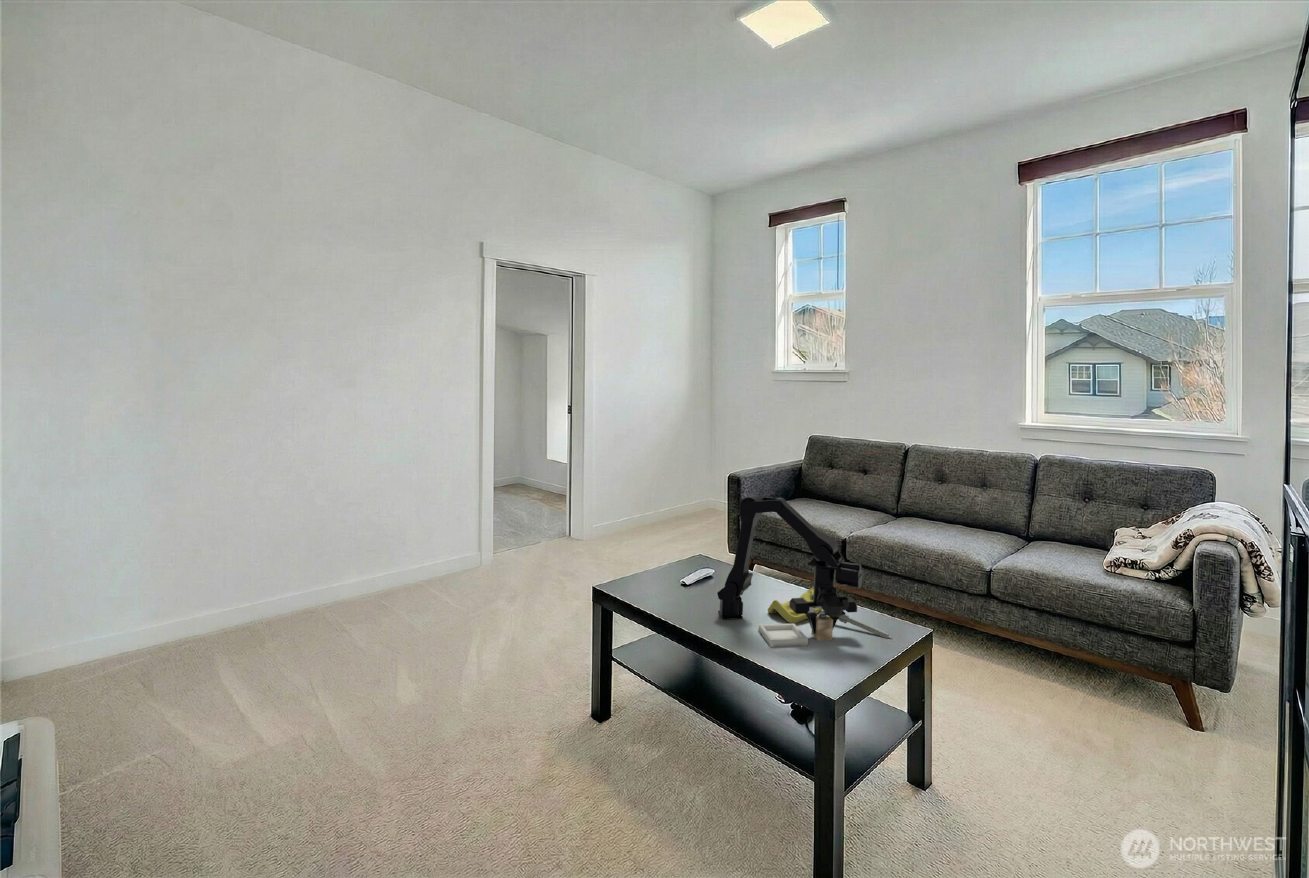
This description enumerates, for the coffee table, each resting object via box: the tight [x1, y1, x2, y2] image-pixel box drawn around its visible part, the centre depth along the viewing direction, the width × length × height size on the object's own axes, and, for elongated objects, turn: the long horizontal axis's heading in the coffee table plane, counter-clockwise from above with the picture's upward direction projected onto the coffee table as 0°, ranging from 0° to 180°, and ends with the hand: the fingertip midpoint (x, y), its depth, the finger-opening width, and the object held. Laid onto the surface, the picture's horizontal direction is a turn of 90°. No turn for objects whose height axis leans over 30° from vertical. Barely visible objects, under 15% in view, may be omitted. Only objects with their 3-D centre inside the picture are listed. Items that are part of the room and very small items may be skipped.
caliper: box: [837, 613, 893, 639], centre depth 181 cm, size 20×1×6 cm, turn 54°
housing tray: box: [758, 623, 809, 648], centre depth 174 cm, size 11×11×2 cm
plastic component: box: [767, 586, 823, 624], centre depth 194 cm, size 20×7×10 cm
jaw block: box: [811, 612, 834, 641], centre depth 176 cm, size 4×4×7 cm
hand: (821, 633), depth 176 cm, fingers closed on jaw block, 4 cm apart
